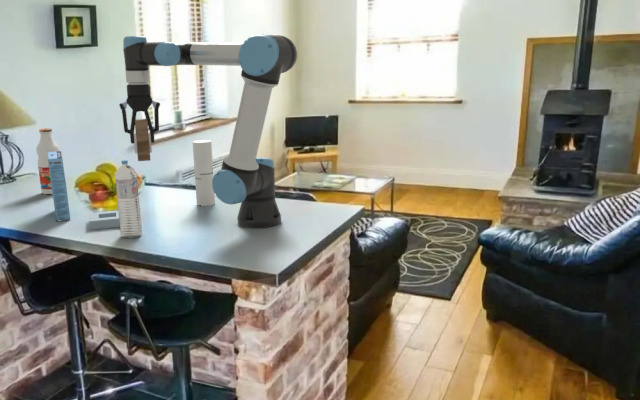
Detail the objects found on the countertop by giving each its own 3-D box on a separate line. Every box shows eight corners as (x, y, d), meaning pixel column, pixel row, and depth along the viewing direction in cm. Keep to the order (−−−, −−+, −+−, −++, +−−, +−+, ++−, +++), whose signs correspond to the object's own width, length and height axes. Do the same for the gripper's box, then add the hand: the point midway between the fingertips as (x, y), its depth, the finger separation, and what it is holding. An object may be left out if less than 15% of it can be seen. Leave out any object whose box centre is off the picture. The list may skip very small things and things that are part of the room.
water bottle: (130, 239, 194) (123, 163, 188) (116, 236, 197) (108, 161, 192) (146, 234, 200) (140, 159, 194) (132, 231, 203) (125, 158, 197)
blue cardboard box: (70, 220, 219) (63, 158, 214) (55, 222, 217) (47, 159, 212) (69, 208, 236) (62, 150, 231) (55, 210, 234) (47, 151, 229)
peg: (150, 160, 208) (147, 119, 205) (138, 161, 207) (135, 120, 203) (149, 158, 212) (146, 118, 208) (137, 159, 210) (134, 119, 207)
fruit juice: (69, 191, 266) (61, 128, 259) (48, 195, 259) (40, 130, 252) (58, 189, 272) (50, 127, 265) (37, 193, 264) (29, 129, 258)
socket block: (126, 225, 210) (125, 217, 209) (90, 229, 206) (89, 221, 205) (125, 217, 221) (124, 209, 220) (90, 221, 217) (89, 213, 216)
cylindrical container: (213, 206, 236) (209, 142, 230) (195, 206, 236) (190, 142, 230) (216, 201, 243) (212, 139, 237) (199, 201, 243) (194, 140, 237)
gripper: (163, 82, 209) (167, 149, 215) (111, 83, 204) (117, 152, 209) (165, 83, 202) (169, 152, 208) (111, 84, 197) (117, 155, 202)
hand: (143, 152), depth 208 cm, fingers closed on peg, 4 cm apart
